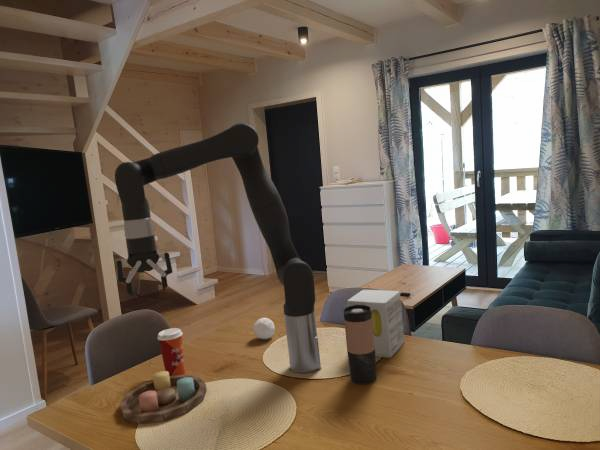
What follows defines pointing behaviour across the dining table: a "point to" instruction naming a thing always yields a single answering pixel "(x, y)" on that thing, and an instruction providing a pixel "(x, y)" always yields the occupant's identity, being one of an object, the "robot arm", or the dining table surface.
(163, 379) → the ochre bead
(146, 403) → the pink rounded piece
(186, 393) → the pale blue rounded piece
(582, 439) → the dining table surface
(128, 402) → the walnut tray
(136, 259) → the robot arm
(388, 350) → the supplement box
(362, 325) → the travel mug
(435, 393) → the dining table surface
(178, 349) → the paper cup
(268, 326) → the geometric ball
